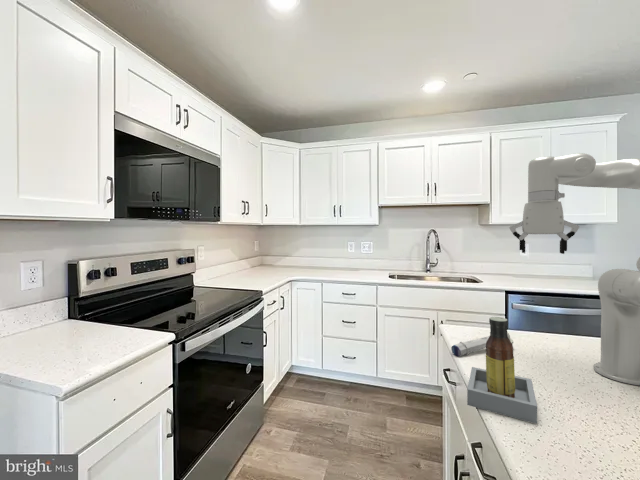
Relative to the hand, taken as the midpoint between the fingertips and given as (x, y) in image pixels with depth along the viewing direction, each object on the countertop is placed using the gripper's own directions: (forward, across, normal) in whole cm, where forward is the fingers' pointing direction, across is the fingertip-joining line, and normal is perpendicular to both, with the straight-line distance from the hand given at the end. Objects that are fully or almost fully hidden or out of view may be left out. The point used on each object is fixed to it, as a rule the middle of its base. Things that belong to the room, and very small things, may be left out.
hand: (542, 253), depth 91 cm
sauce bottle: (+36, +11, +27) cm, 46 cm away
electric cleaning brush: (+37, +16, -6) cm, 41 cm away
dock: (+36, +11, +27) cm, 47 cm away
